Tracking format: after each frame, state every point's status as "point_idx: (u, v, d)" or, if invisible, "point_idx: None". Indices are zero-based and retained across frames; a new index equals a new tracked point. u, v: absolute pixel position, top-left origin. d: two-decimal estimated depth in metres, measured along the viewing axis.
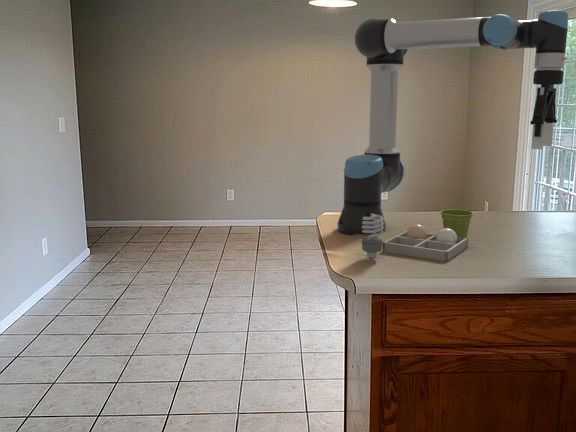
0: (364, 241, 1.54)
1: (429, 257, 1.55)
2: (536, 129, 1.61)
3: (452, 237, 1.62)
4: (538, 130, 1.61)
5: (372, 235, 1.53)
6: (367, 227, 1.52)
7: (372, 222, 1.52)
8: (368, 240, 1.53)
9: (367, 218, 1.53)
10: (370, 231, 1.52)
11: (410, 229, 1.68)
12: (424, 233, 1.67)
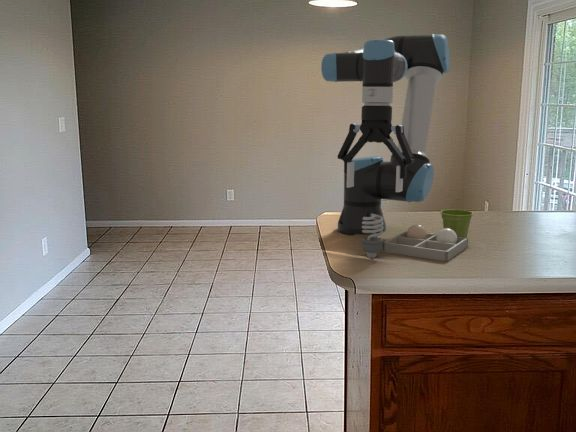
0: (364, 241, 1.54)
1: (429, 257, 1.55)
2: None
3: (452, 237, 1.62)
4: None
5: (372, 235, 1.53)
6: (367, 227, 1.52)
7: (372, 222, 1.52)
8: (368, 240, 1.53)
9: (367, 218, 1.53)
10: (370, 231, 1.52)
11: (410, 229, 1.68)
12: (424, 233, 1.67)
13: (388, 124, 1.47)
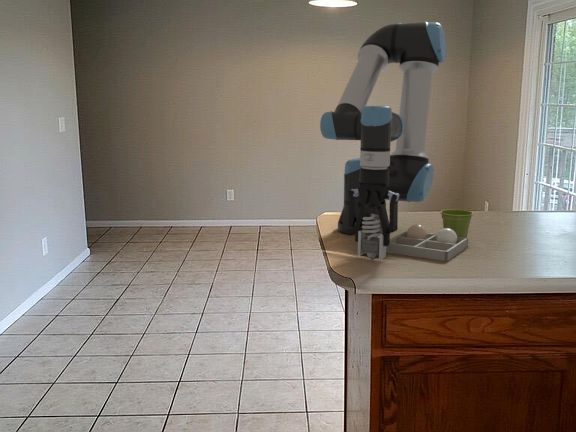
0: (364, 241, 1.54)
1: (429, 257, 1.55)
2: None
3: (452, 237, 1.62)
4: None
5: (372, 235, 1.53)
6: (367, 227, 1.52)
7: (372, 222, 1.52)
8: (368, 240, 1.53)
9: (367, 218, 1.53)
10: (370, 231, 1.52)
11: (410, 229, 1.68)
12: (424, 233, 1.67)
13: (385, 187, 1.50)
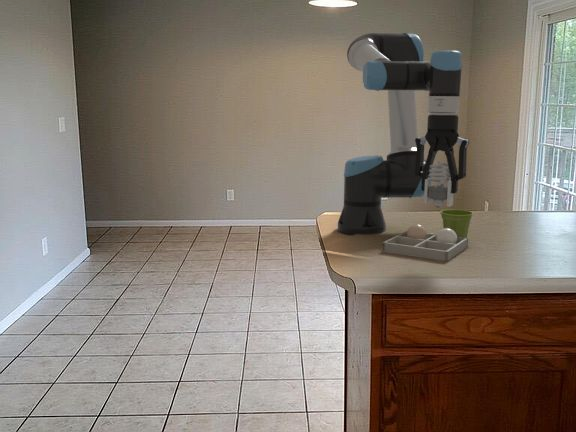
0: (431, 189, 1.54)
1: (429, 257, 1.55)
2: None
3: (452, 237, 1.62)
4: None
5: (440, 182, 1.52)
6: (435, 174, 1.52)
7: (440, 169, 1.51)
8: (436, 187, 1.53)
9: (435, 165, 1.52)
10: (438, 178, 1.52)
11: (410, 229, 1.68)
12: (424, 233, 1.67)
13: (455, 133, 1.50)
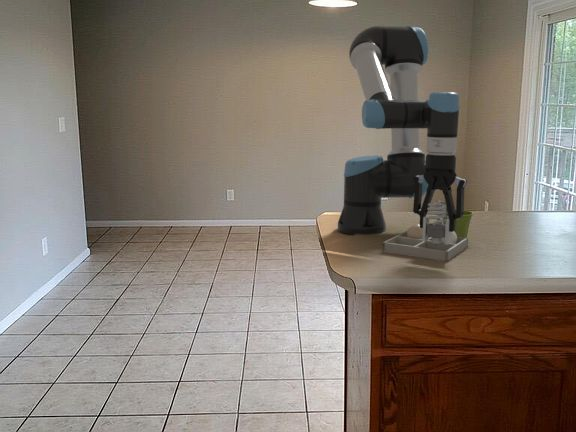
0: (430, 227, 1.55)
1: (429, 257, 1.55)
2: None
3: (452, 237, 1.62)
4: None
5: (438, 221, 1.54)
6: (433, 213, 1.54)
7: (438, 208, 1.53)
8: (434, 226, 1.55)
9: (433, 204, 1.54)
10: (436, 217, 1.54)
11: (410, 229, 1.68)
12: None
13: (453, 173, 1.51)
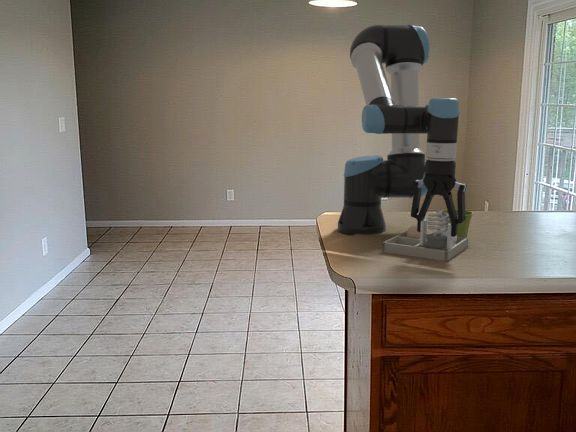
0: (430, 237, 1.56)
1: (429, 257, 1.55)
2: None
3: None
4: None
5: (439, 231, 1.54)
6: (434, 223, 1.54)
7: (439, 218, 1.54)
8: (434, 236, 1.55)
9: (434, 214, 1.54)
10: (437, 227, 1.54)
11: (410, 229, 1.68)
12: None
13: (452, 178, 1.52)
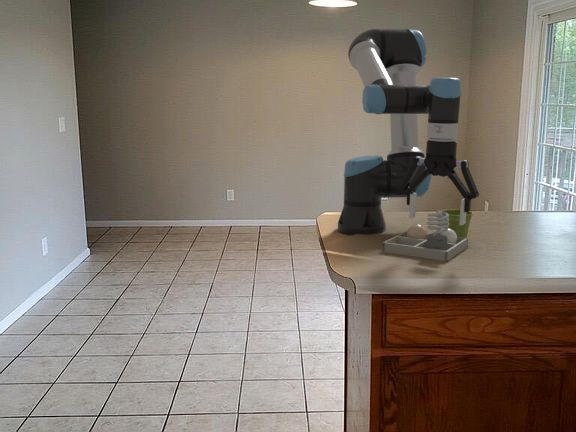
0: (430, 237, 1.56)
1: (429, 257, 1.55)
2: None
3: (452, 237, 1.62)
4: None
5: (438, 231, 1.55)
6: (433, 223, 1.54)
7: (439, 218, 1.54)
8: (434, 236, 1.55)
9: (433, 214, 1.54)
10: (436, 227, 1.54)
11: (410, 229, 1.68)
12: (424, 233, 1.67)
13: (453, 159, 1.51)
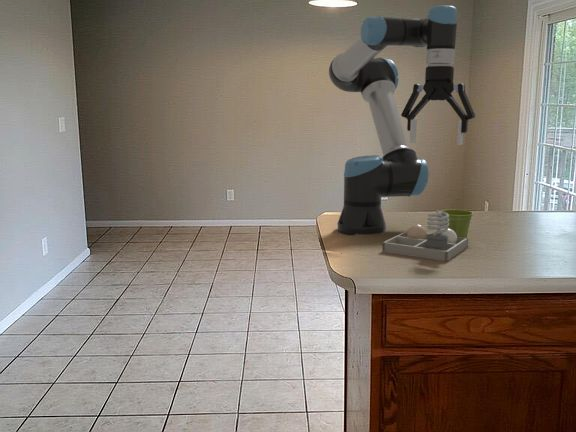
0: (430, 237, 1.56)
1: (429, 257, 1.55)
2: None
3: (452, 237, 1.62)
4: None
5: (438, 231, 1.55)
6: (433, 223, 1.54)
7: (439, 218, 1.54)
8: (434, 236, 1.55)
9: (433, 214, 1.54)
10: (437, 227, 1.54)
11: (410, 229, 1.68)
12: (424, 233, 1.67)
13: (451, 83, 1.62)
